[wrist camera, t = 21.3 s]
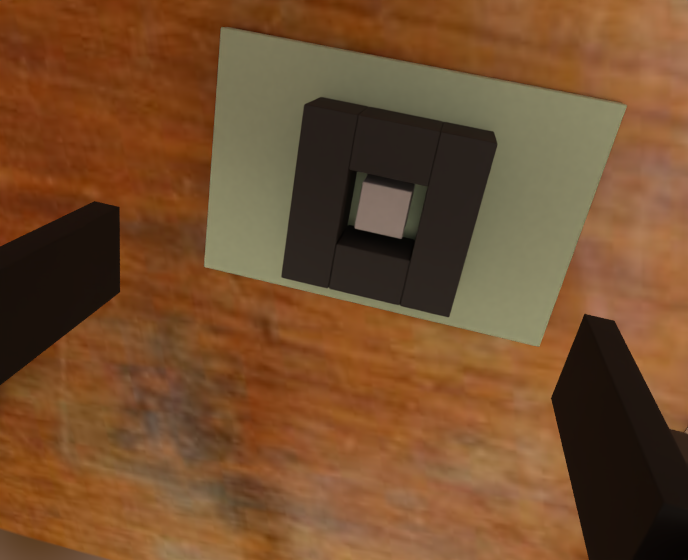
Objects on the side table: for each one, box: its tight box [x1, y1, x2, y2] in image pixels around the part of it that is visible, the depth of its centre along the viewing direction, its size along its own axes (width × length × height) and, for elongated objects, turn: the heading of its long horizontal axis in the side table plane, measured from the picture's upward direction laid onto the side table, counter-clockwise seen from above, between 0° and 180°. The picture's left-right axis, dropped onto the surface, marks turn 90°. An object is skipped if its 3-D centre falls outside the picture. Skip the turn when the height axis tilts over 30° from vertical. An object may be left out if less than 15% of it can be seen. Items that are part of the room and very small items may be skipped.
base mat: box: [204, 27, 627, 347], centre depth 27 cm, size 12×18×4 cm, turn 80°
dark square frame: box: [281, 97, 498, 317], centre depth 26 cm, size 8×8×3 cm
